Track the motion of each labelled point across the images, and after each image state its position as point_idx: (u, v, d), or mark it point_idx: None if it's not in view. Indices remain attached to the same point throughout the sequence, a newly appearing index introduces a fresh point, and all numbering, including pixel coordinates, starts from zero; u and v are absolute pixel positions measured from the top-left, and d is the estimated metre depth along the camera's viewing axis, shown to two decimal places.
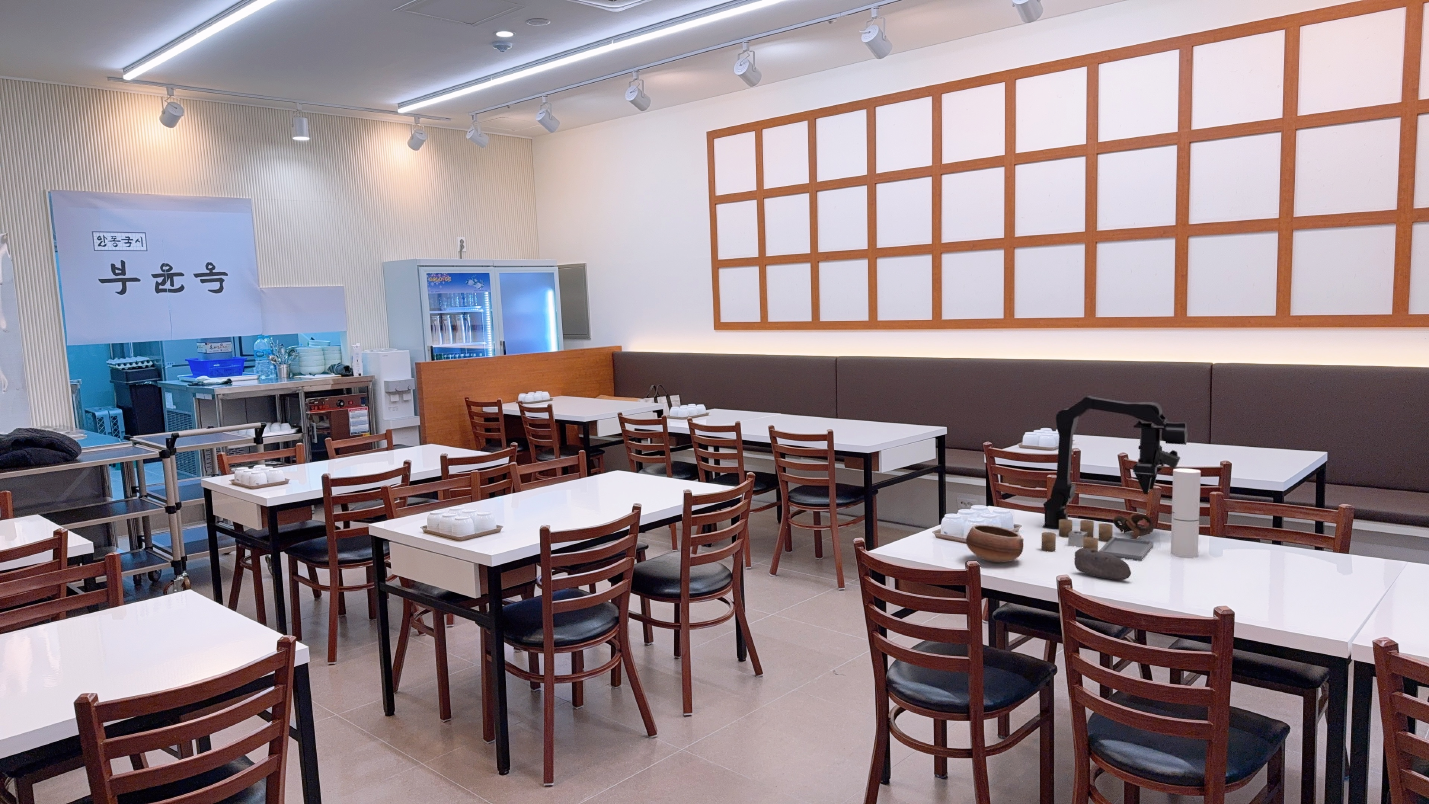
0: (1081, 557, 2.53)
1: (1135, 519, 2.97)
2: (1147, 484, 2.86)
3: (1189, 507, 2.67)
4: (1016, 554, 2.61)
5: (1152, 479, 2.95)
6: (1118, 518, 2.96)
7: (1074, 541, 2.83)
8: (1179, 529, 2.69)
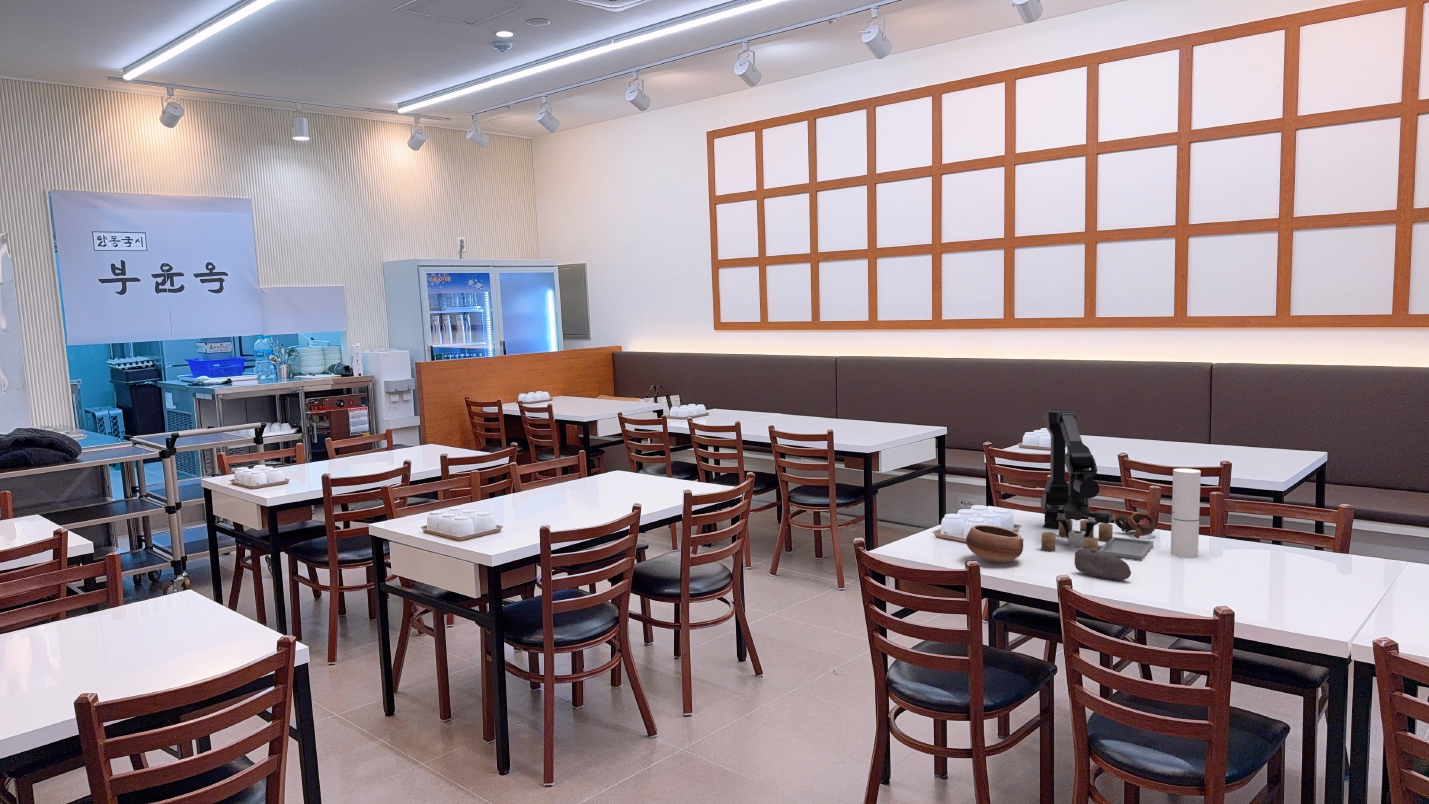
0: (1081, 557, 2.53)
1: (1136, 518, 2.98)
2: None
3: (1189, 507, 2.67)
4: (1016, 554, 2.61)
5: None
6: (1120, 517, 2.97)
7: (1074, 540, 2.83)
8: (1179, 529, 2.69)
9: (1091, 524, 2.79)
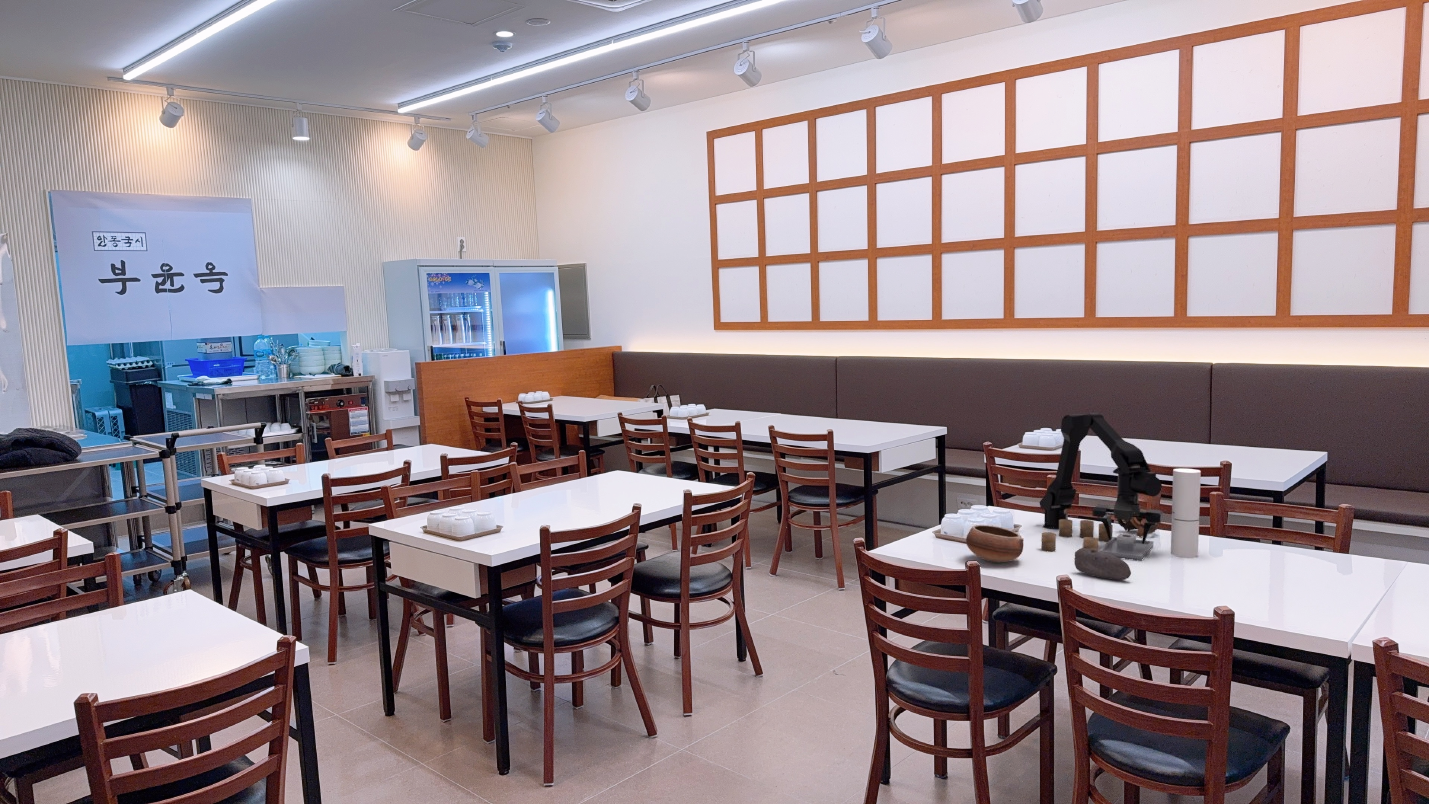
0: (1081, 557, 2.53)
1: None
2: None
3: (1189, 507, 2.67)
4: (1016, 554, 2.61)
5: None
6: None
7: (1123, 544, 2.75)
8: (1179, 529, 2.69)
9: (1149, 524, 2.70)
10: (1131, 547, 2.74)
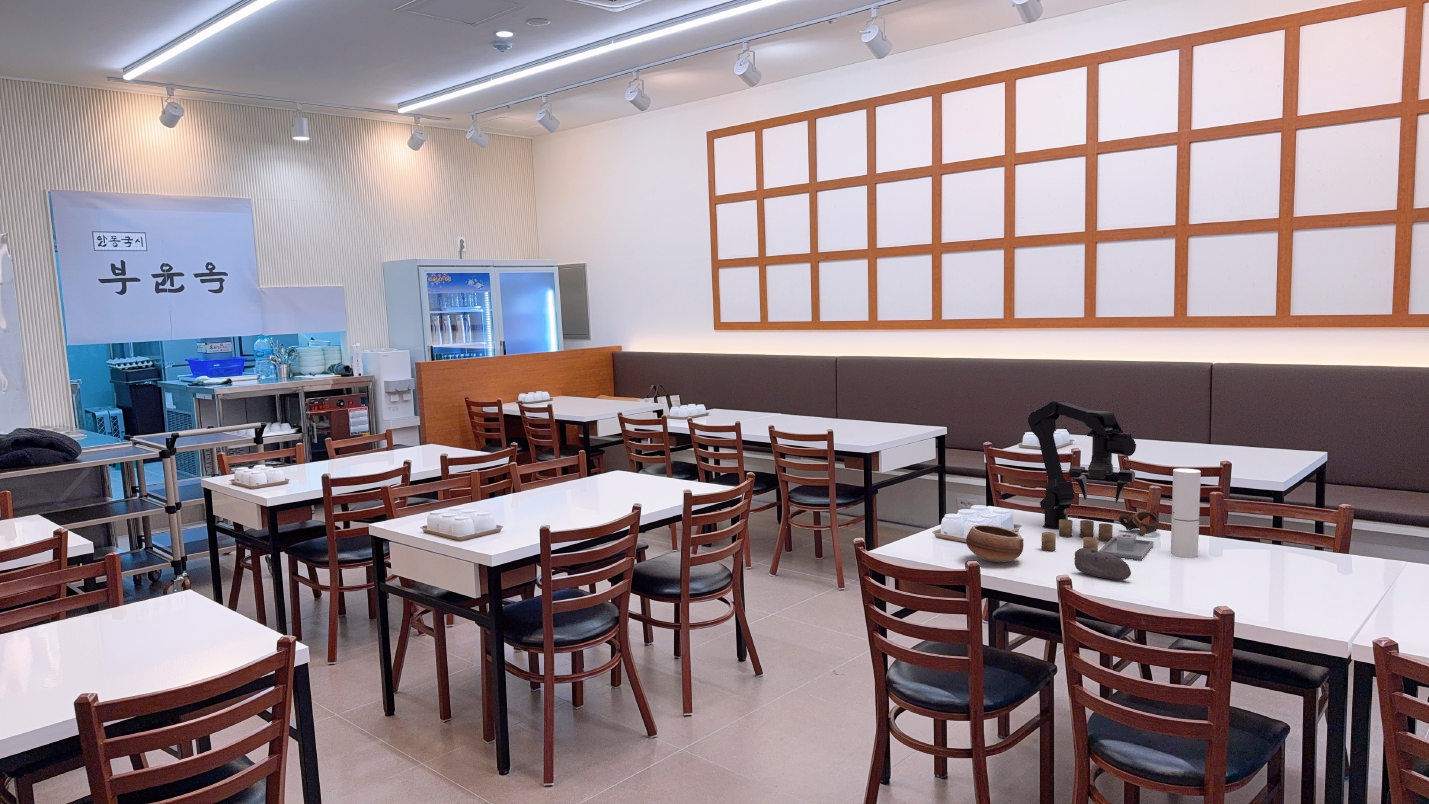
0: (1081, 556, 2.53)
1: (1140, 516, 3.00)
2: None
3: (1189, 507, 2.67)
4: (1016, 554, 2.61)
5: None
6: (1124, 516, 2.99)
7: (1123, 544, 2.75)
8: (1179, 529, 2.69)
9: (1122, 484, 2.85)
10: (1131, 547, 2.74)
